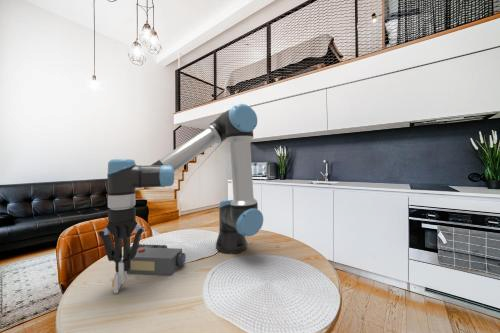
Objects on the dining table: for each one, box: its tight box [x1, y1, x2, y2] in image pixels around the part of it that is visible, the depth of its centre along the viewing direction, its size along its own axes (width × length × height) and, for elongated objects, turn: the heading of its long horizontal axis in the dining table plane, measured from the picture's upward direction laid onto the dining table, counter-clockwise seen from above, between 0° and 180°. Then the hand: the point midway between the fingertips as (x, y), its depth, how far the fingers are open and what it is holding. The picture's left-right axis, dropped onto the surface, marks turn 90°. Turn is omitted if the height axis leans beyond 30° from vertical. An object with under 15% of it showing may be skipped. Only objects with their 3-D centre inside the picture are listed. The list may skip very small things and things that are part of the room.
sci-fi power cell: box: [130, 243, 168, 253], centre depth 89 cm, size 4×19×10 cm
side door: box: [111, 271, 122, 294], centre depth 68 cm, size 13×2×5 cm, turn 22°
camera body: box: [127, 247, 187, 276], centre depth 78 cm, size 20×9×7 cm, turn 85°
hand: (122, 280), depth 65 cm, fingers closed
